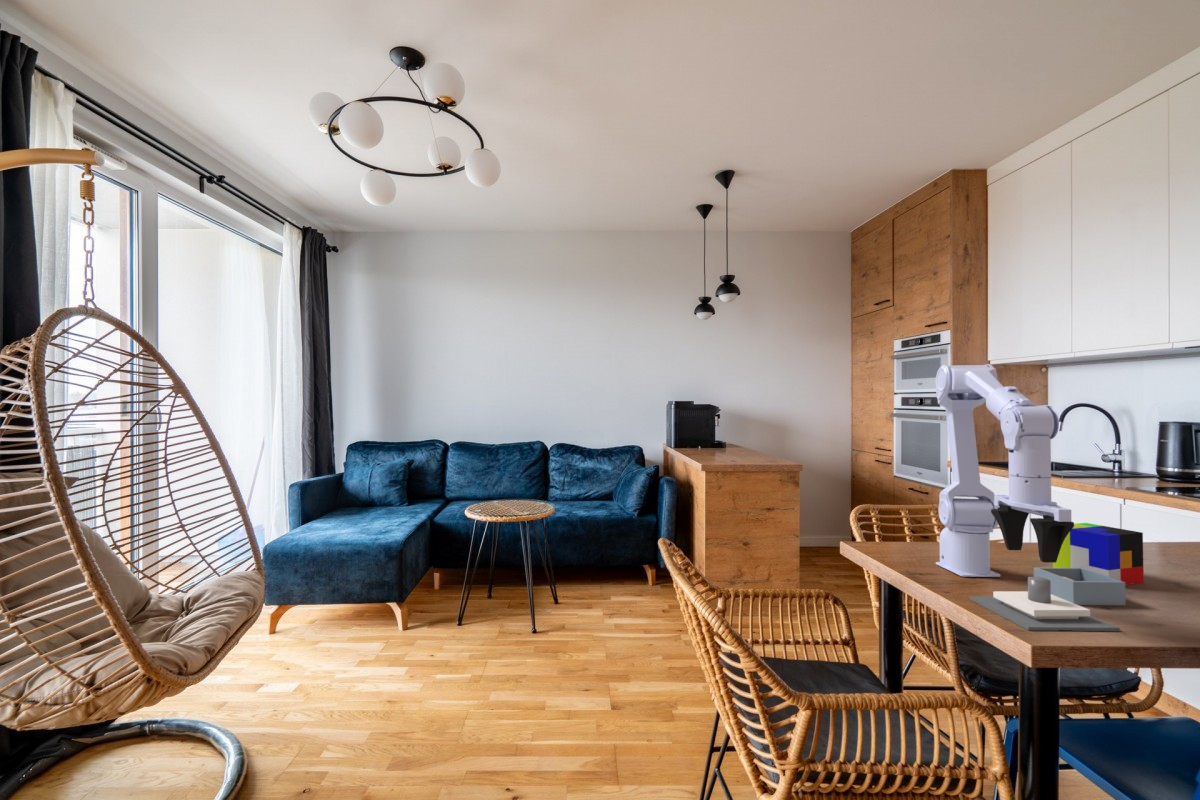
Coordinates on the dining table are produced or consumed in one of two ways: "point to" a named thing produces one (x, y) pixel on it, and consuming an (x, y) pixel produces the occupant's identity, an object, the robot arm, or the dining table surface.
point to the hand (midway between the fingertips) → (1030, 555)
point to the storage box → (1083, 586)
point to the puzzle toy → (1104, 552)
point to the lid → (1040, 601)
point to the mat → (1043, 624)
